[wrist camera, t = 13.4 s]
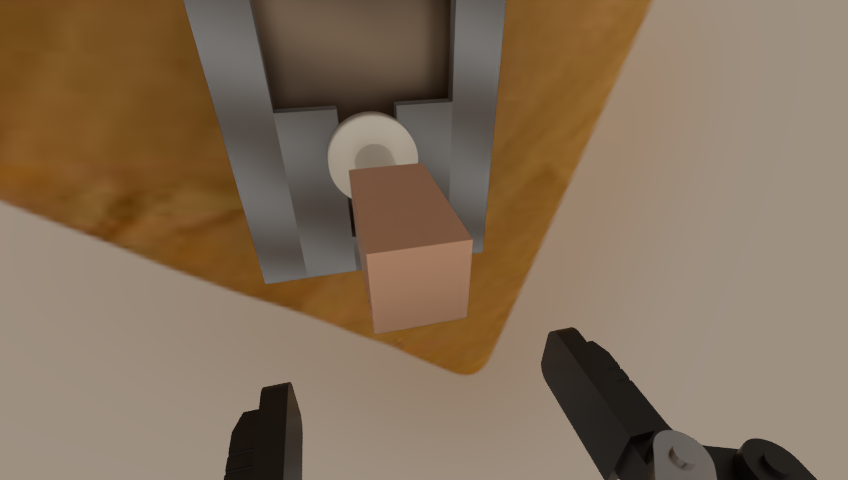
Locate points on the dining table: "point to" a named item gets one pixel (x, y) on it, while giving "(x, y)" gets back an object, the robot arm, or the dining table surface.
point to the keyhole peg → (400, 225)
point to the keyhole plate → (346, 109)
